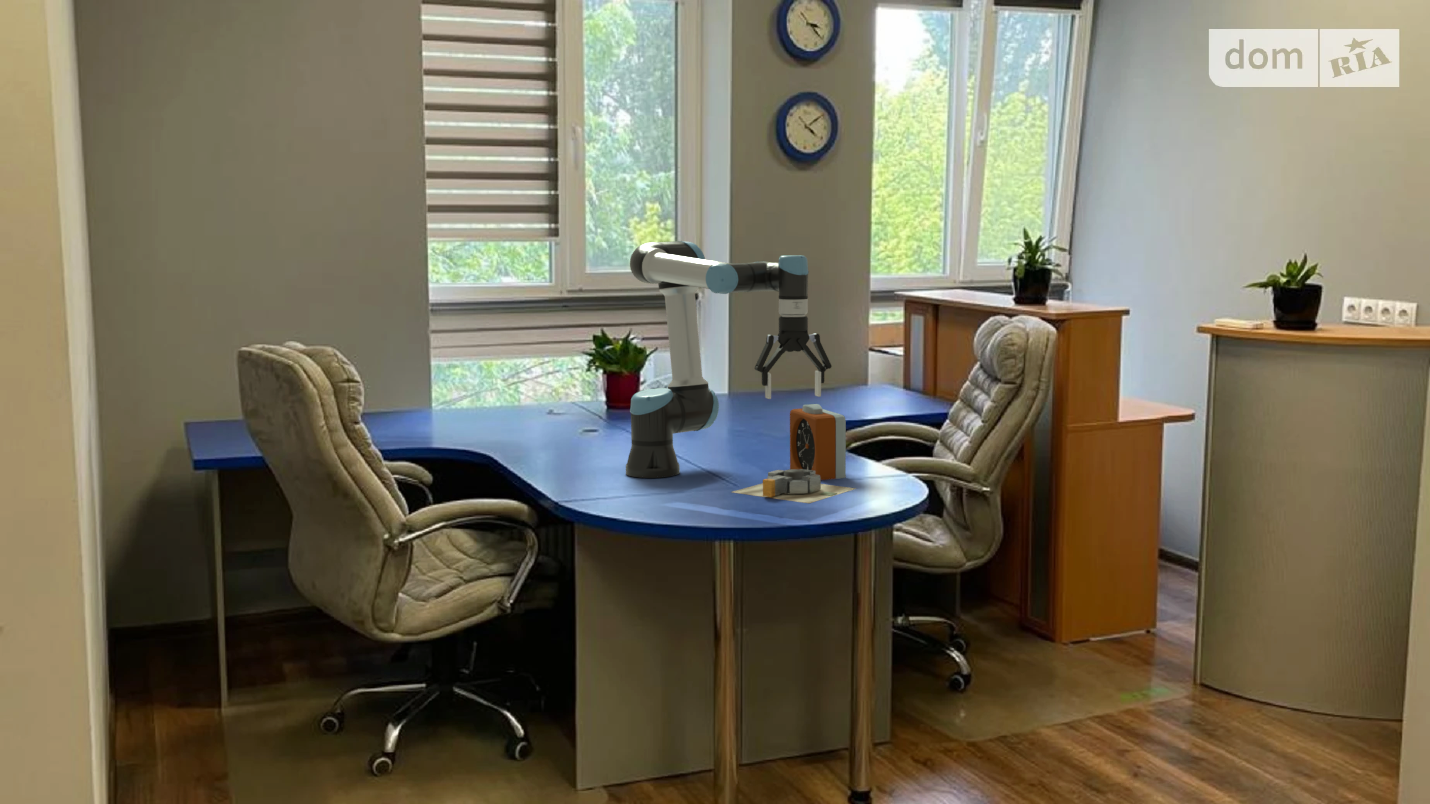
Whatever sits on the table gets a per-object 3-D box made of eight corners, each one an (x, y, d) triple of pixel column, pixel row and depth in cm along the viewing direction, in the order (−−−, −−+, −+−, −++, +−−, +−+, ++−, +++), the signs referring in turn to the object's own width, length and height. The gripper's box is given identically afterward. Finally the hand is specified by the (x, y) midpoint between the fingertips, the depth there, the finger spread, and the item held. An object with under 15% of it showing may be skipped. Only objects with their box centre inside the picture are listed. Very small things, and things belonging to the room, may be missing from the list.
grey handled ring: (787, 481, 354) (787, 466, 353) (829, 487, 346) (829, 471, 345) (746, 493, 339) (746, 477, 339) (788, 499, 331) (788, 483, 331)
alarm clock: (788, 474, 375) (788, 400, 372) (817, 471, 378) (817, 399, 375) (817, 486, 358) (816, 409, 355) (846, 483, 361) (846, 407, 358)
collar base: (730, 497, 343) (730, 472, 343) (780, 483, 361) (780, 460, 360) (809, 509, 329) (809, 483, 328) (856, 494, 346) (856, 469, 345)
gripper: (751, 317, 339) (751, 401, 342) (843, 315, 346) (843, 396, 349) (742, 315, 347) (743, 397, 350) (833, 313, 353) (833, 393, 356)
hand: (793, 397), depth 349 cm, fingers open, 13 cm apart
